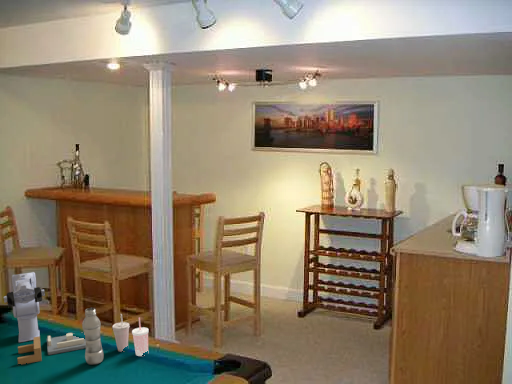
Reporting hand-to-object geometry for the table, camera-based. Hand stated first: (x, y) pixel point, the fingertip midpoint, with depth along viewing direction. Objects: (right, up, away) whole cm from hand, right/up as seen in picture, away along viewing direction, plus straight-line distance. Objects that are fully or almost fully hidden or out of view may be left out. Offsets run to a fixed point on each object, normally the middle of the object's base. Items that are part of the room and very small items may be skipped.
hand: (24, 301), depth 212 cm
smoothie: (+35, -19, +5) cm, 40 cm away
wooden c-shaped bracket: (+1, -21, +2) cm, 21 cm away
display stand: (+13, -19, +12) cm, 26 cm away
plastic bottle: (+28, -21, -5) cm, 35 cm away
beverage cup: (+43, -20, +1) cm, 48 cm away
